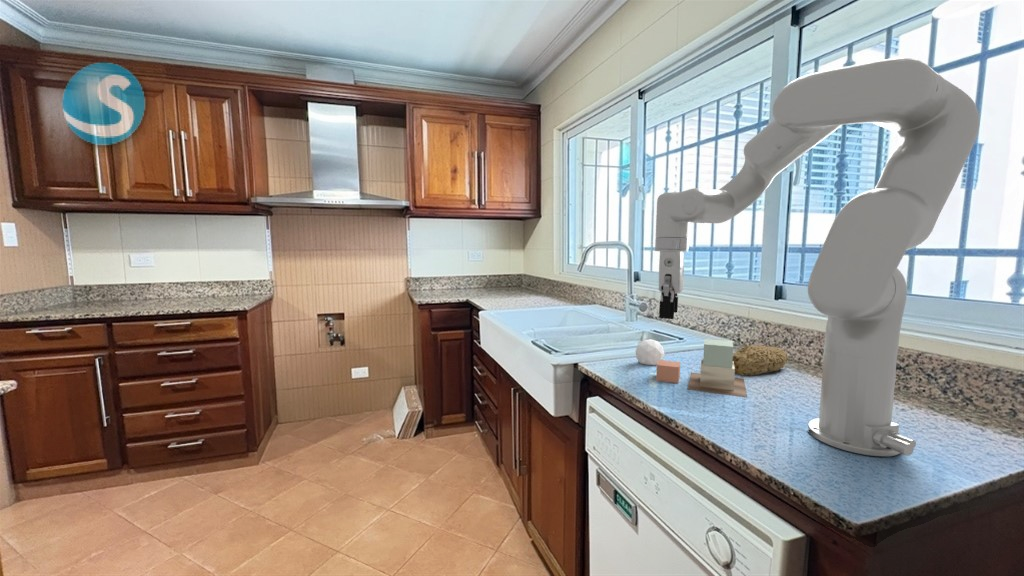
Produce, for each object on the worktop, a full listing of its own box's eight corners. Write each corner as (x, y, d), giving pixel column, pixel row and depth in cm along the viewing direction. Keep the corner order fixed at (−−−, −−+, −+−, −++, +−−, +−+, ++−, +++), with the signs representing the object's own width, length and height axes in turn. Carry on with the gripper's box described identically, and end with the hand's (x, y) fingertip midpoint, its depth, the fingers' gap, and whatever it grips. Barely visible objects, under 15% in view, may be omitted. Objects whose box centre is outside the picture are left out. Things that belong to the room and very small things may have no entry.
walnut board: (747, 401, 88) (747, 397, 88) (687, 393, 94) (687, 389, 94) (743, 382, 101) (743, 378, 101) (690, 376, 106) (690, 372, 106)
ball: (651, 377, 114) (649, 359, 109) (631, 361, 120) (627, 343, 115) (671, 362, 116) (669, 343, 111) (650, 347, 122) (647, 329, 117)
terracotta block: (678, 387, 98) (678, 367, 98) (656, 384, 100) (656, 364, 100) (679, 381, 103) (680, 362, 102) (658, 378, 105) (659, 359, 104)
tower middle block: (732, 368, 93) (733, 346, 92) (703, 365, 95) (704, 344, 95) (731, 361, 98) (732, 341, 98) (703, 358, 101) (704, 338, 100)
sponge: (750, 387, 101) (811, 364, 106) (742, 356, 102) (803, 334, 107) (712, 380, 114) (768, 359, 119) (704, 353, 114) (761, 333, 119)
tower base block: (733, 390, 93) (734, 369, 92) (700, 386, 96) (700, 365, 95) (732, 381, 99) (733, 361, 98) (701, 377, 102) (701, 358, 101)
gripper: (686, 245, 89) (682, 322, 91) (690, 245, 104) (687, 311, 106) (650, 245, 92) (647, 319, 94) (659, 244, 107) (657, 308, 109)
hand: (668, 315), depth 100 cm, fingers open, 9 cm apart
